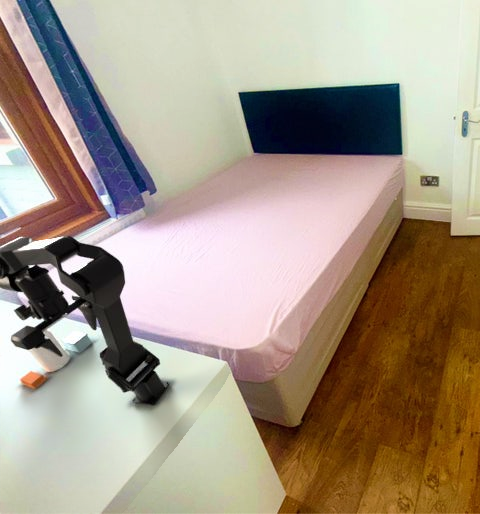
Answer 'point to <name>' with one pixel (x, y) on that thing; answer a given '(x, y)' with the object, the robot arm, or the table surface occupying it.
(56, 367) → the can
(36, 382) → the orange rectangular block
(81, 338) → the box
